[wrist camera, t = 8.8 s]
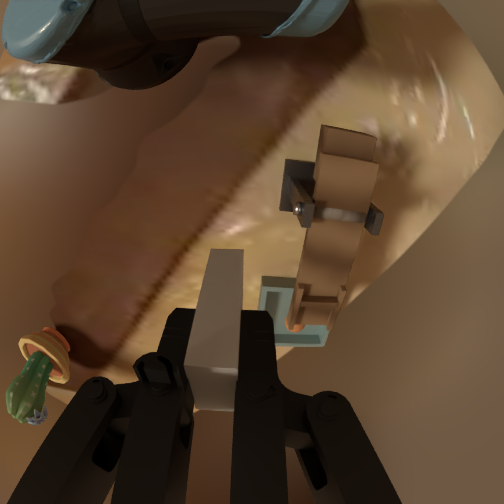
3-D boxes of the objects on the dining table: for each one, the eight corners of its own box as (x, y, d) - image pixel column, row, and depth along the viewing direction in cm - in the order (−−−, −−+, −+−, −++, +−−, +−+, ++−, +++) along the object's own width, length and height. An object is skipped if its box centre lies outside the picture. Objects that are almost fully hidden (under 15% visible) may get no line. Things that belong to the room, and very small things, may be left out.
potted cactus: (61, 364, 57) (27, 433, 35) (25, 323, 51) (-20, 390, 29) (91, 357, 54) (54, 441, 32) (50, 310, 48) (-5, 392, 26)
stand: (285, 159, 35) (300, 178, 24) (355, 169, 35) (395, 193, 24) (279, 208, 38) (290, 247, 27) (346, 216, 38) (379, 255, 28)
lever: (317, 123, 26) (330, 129, 21) (369, 134, 26) (389, 143, 22) (285, 303, 39) (288, 330, 34) (324, 305, 39) (332, 331, 35)
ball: (284, 308, 46) (287, 315, 42) (304, 309, 46) (309, 316, 43) (282, 327, 46) (285, 335, 43) (302, 328, 46) (306, 336, 43)
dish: (261, 276, 43) (262, 286, 40) (338, 280, 43) (343, 290, 41) (254, 334, 49) (254, 345, 46) (321, 336, 49) (323, 346, 47)
